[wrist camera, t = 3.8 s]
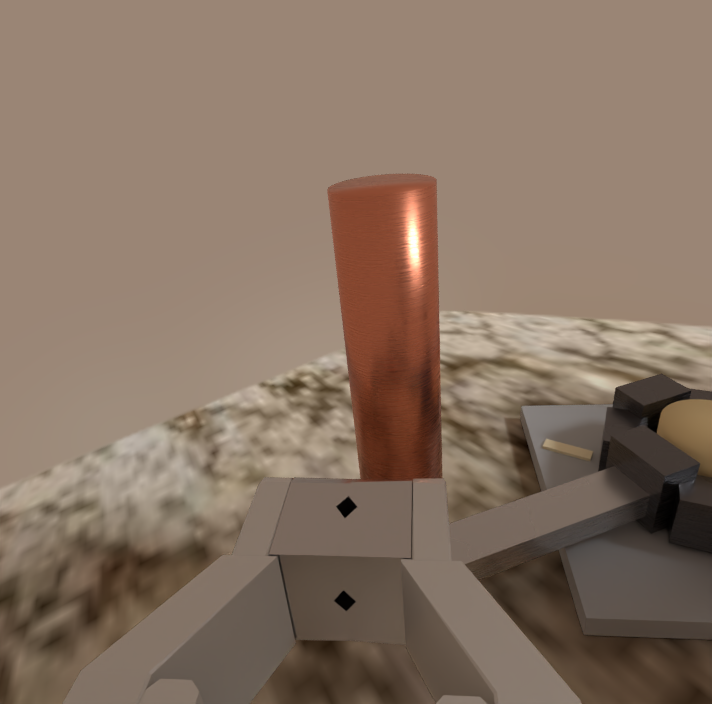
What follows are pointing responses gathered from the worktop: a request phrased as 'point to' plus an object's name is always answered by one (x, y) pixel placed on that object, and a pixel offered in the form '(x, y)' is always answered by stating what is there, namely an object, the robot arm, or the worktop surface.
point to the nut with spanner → (423, 396)
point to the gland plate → (627, 529)
